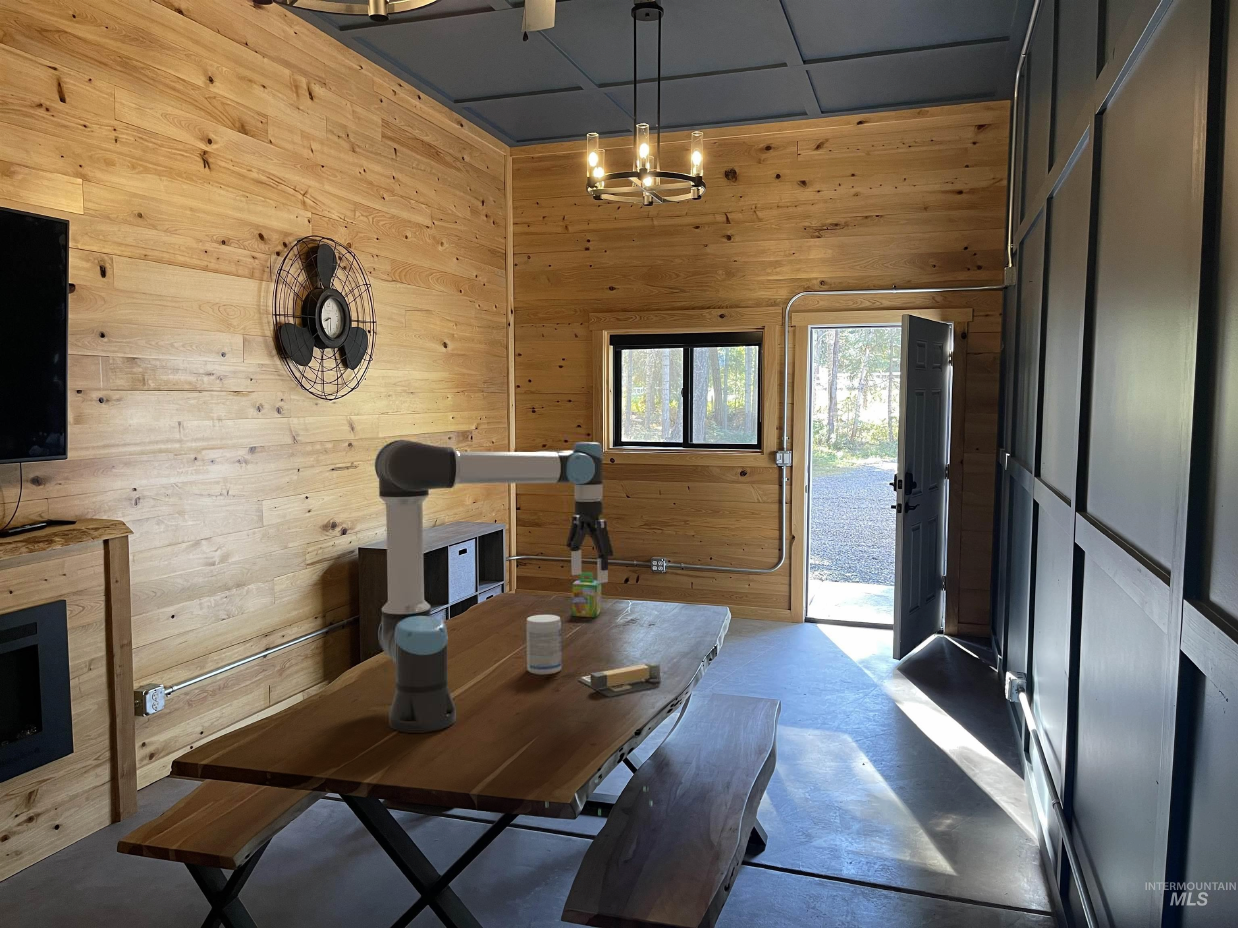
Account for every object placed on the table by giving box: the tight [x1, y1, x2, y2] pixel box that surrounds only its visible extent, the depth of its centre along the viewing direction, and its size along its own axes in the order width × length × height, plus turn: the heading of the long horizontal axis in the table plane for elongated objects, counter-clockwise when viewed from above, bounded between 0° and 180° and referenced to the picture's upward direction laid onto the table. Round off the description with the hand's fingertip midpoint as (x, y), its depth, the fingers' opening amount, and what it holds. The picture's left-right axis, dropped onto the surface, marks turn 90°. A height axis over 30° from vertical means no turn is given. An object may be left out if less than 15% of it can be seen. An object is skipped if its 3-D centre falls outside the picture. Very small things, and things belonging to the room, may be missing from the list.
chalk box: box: [571, 571, 602, 618], centre depth 308 cm, size 9×9×15 cm
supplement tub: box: [525, 614, 563, 676], centre depth 241 cm, size 10×10×15 cm
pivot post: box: [643, 675, 662, 685], centre depth 231 cm, size 4×4×1 cm
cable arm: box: [590, 661, 661, 689], centre depth 227 cm, size 20×4×3 cm, turn 122°
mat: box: [577, 678, 656, 698], centre depth 229 cm, size 14×16×1 cm
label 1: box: [580, 675, 591, 682], centre depth 232 cm, size 5×4×1 cm
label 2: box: [607, 683, 632, 691], centre depth 225 cm, size 5×4×1 cm
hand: (589, 578), depth 234 cm, fingers open, 13 cm apart
